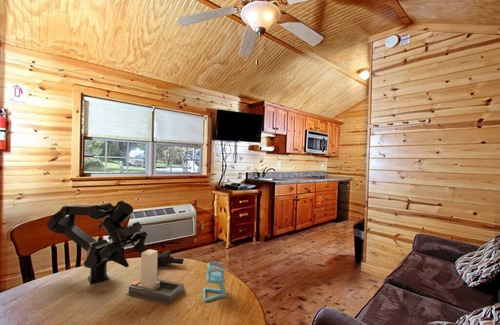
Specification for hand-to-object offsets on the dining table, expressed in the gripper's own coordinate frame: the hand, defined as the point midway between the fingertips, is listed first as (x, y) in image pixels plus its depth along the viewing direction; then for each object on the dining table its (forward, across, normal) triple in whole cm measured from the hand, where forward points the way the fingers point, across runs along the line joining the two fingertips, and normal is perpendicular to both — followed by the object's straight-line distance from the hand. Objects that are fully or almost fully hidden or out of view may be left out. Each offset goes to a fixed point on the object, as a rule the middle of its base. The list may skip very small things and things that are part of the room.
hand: (137, 261), depth 92 cm
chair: (+29, +6, -14) cm, 33 cm away
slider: (+11, 0, +3) cm, 12 cm away
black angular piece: (+7, +21, +8) cm, 24 cm away
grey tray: (+14, 0, +1) cm, 14 cm away
